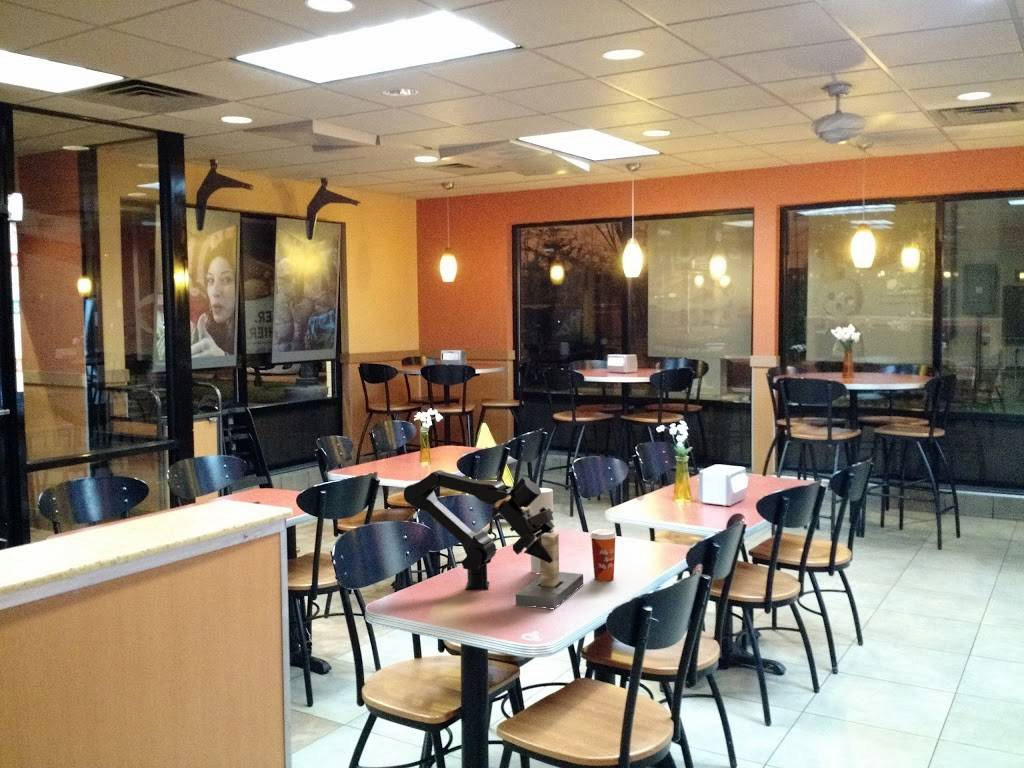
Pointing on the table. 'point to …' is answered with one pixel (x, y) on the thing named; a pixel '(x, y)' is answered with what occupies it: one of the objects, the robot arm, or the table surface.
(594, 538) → the paper cup
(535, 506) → the cylindrical container
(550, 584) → the maple peg
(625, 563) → the table surface
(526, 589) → the socket plate
